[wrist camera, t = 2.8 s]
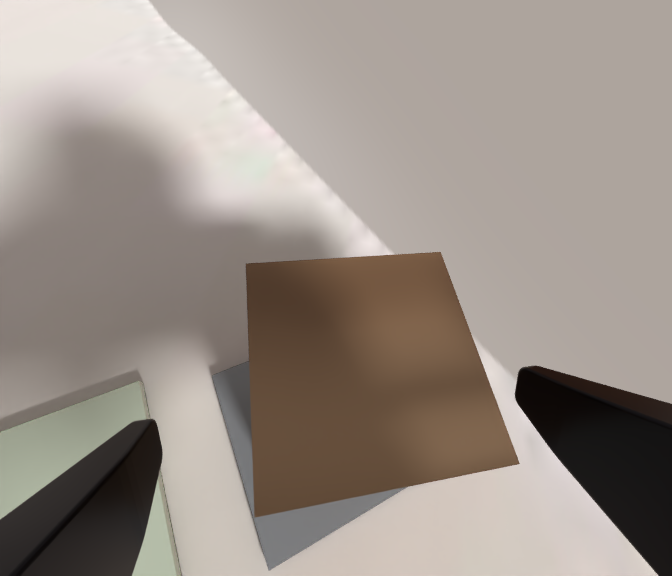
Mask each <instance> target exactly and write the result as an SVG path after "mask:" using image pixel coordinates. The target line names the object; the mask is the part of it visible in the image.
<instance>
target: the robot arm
mask: <svg viewBox="0 0 672 576" xmlns="http://www.w3.org/2000/svg"><path fill="white" fill-rule="evenodd" d="M515 398H516V401H517V403H518V405H519V406H520V408H521V409H522V410H523V412H524V413H525V415H526V416H527V417H528V419H529V420H530V421H531V423H532V424H533V426H534V427H535V428H536V430H537V431H538V432H539V434H540V435H541V437H542V438H543V439H544V441H545V442H546V443H547V445H548V446H549V447H550V449H551V450H552V451H553V453H554V454H555V455H556V457H557V458H558V459H559V460H560V461H561V463H562V464H563V465H564V466H565V467H566V468H567V470H568V471H569V472H570V473H571V474H572V475H573V477H574V478H575V479H576V480H577V481H578V482H579V484H580V485H581V486H582V487H583V488H584V489H585V491H586V492H587V493H588V494H589V495H590V496H591V498H592V499H593V500H594V501H595V502H596V503H597V505H598V506H599V507H600V508H601V509H602V510H603V512H604V513H605V514H606V515H607V516H608V517H609V519H610V520H611V521H612V522H613V523H614V524H615V526H616V527H617V528H618V529H619V530H620V531H621V532H622V534H623V535H624V536H625V537H626V538H627V539H628V541H629V542H630V543H631V544H632V545H633V546H634V548H635V549H636V550H637V551H638V552H639V553H640V555H641V556H642V557H643V558H644V559H645V560H646V562H647V563H648V564H649V565H650V566H651V567H652V569H653V570H654V571H655V572H656V573H657V574H658V576H672V404H670V403H667V402H663V401H659V400H656V399H652V398H649V397H645V396H642V395H638V394H635V393H631V392H627V391H624V390H621V389H617V388H614V387H610V386H607V385H603V384H600V383H596V382H593V381H589V380H585V379H582V378H578V377H575V376H571V375H568V374H565V373H561V372H557V371H554V370H550V369H547V368H543V367H540V366H528V367H523V368H521V369H520V370H519V372H518V377H517V384H516V390H515ZM161 463H162V446H161V441H160V437H159V432H158V427H157V423H156V421H155V420H154V419H145V420H137V421H133V422H131V423H130V424H128V425H127V426H126V427H124V428H123V429H122V430H120V431H119V432H118V433H116V434H115V435H114V436H112V437H111V438H109V439H108V440H107V441H105V442H104V443H103V444H101V445H100V446H99V447H97V448H96V449H95V450H93V451H92V452H91V453H89V454H88V455H86V456H85V457H84V458H82V459H81V460H80V461H78V462H77V463H76V464H74V465H73V466H72V467H70V468H69V469H68V470H66V471H65V472H64V473H62V474H61V475H59V476H58V477H57V478H55V479H54V480H53V481H51V482H50V483H49V484H47V485H46V486H45V487H43V488H42V489H41V490H39V491H38V492H36V493H35V494H34V495H32V496H31V497H30V498H28V499H27V500H26V501H24V502H23V503H22V504H20V505H19V506H18V507H16V508H15V509H13V510H12V511H11V512H9V513H8V514H7V515H5V516H4V517H3V518H1V519H0V576H132V574H133V571H134V568H135V565H136V562H137V559H138V556H139V553H140V550H141V547H142V543H143V540H144V537H145V533H146V529H147V525H148V520H149V516H150V511H151V507H152V503H153V498H154V494H155V489H156V485H157V480H158V476H159V471H160V467H161Z"/></svg>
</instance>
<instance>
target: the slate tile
mask: <svg viewBox="0 0 672 576" xmlns="http://www.w3.org/2000/svg"><path fill="white" fill-rule="evenodd" d="M212 378H213V382H214V385H215V388H216V392H217V395H218V399H219V402H220V405H221V409H222V412H223V416H224V419H225V423H226V426H227V429H228V433H229V436H230V440H231V443H232V447H233V450H234V453H235V457H236V460H237V464H238V467H239V471H240V474H241V477H242V481H243V484H244V488H245V491H246V495H247V498H248V501H249V505H250V508H251V512H252V515H253V518H254V490H253V460H252V430H251V400H250V370H249V361H248V362H245V363H243V364H240V365H238V366H235V367H232V368H230V369H227V370H225V371H222V372H220V373H217V374H214V375H212ZM405 488H406V487H403V488H398V489H393V490H388V491H384V492H379V493H374V494H369V495H364V496H359V497H354V498H349V499H344V500H339V501H334V502H329V503H324V504H320V505H315V506H310V507H305V508H300V509H295V510H290V511H285V512H280V513H275V514H270V515H265V516H260V517H256V518H254V522H255V525H256V529H257V532H258V536H259V539H260V542H261V546H262V549H263V553H264V556H265V560H266V563H267V566H268V570H271V569H272V568H274V567H276V566H277V565H279V564H281V563H282V562H284V561H286V560H287V559H289V558H291V557H292V556H294V555H296V554H297V553H299V552H301V551H302V550H304V549H306V548H307V547H309V546H311V545H312V544H314V543H315V542H317V541H319V540H320V539H322V538H324V537H325V536H327V535H329V534H330V533H332V532H334V531H335V530H337V529H339V528H340V527H342V526H344V525H345V524H347V523H349V522H350V521H352V520H354V519H355V518H357V517H359V516H360V515H362V514H363V513H365V512H367V511H368V510H370V509H372V508H373V507H375V506H377V505H378V504H380V503H382V502H383V501H385V500H387V499H388V498H390V497H392V496H393V495H395V494H397V493H398V492H400V491H402V490H403V489H405Z"/></svg>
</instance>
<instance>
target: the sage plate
mask: <svg viewBox="0 0 672 576" xmlns="http://www.w3.org/2000/svg"><path fill="white" fill-rule="evenodd" d="M145 419H150V417H149V412H148V407H147V402H146V397H145V392H144V387H143V383H141V382H140V381H137V382H134V383H131V384H129V385H126V386H123V387H121V388H118V389H115V390H112V391H110V392H107V393H104V394H102V395H99V396H96V397H93V398H91V399H88V400H85V401H83V402H80V403H77V404H75V405H72V406H69V407H66V408H64V409H61V410H58V411H56V412H53V413H50V414H47V415H45V416H42V417H39V418H37V419H34V420H31V421H29V422H26V423H23V424H20V425H18V426H15V427H12V428H10V429H7V430H4V431H1V432H0V519H1V518H3V517H4V516H5V515H7V514H8V513H9V512H11V511H12V510H13V509H15V508H16V507H18V506H19V505H20V504H22V503H23V502H24V501H26V500H27V499H28V498H30V497H31V496H32V495H34V494H35V493H36V492H38V491H39V490H41V489H42V488H43V487H45V486H46V485H47V484H49V483H50V482H51V481H53V480H54V479H55V478H57V477H58V476H59V475H61V474H62V473H64V472H65V471H66V470H68V469H69V468H70V467H72V466H73V465H74V464H76V463H77V462H78V461H80V460H81V459H82V458H84V457H85V456H86V455H88V454H89V453H91V452H92V451H93V450H95V449H96V448H97V447H99V446H100V445H101V444H103V443H104V442H105V441H107V440H108V439H109V438H111V437H112V436H114V435H115V434H116V433H118V432H119V431H120V430H122V429H123V428H124V427H126V426H127V425H128V424H130V423H131V422H133V421H137V420H145ZM132 576H181V572H180V567H179V562H178V557H177V552H176V547H175V542H174V537H173V532H172V527H171V522H170V517H169V512H168V507H167V502H166V497H165V492H164V487H163V482H162V477H161V472H160V471H159V476H158V480H157V485H156V489H155V494H154V498H153V503H152V507H151V511H150V516H149V520H148V525H147V529H146V533H145V537H144V540H143V543H142V547H141V550H140V553H139V556H138V559H137V562H136V565H135V568H134V571H133V574H132Z"/></svg>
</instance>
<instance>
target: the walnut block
mask: <svg viewBox="0 0 672 576" xmlns="http://www.w3.org/2000/svg"><path fill="white" fill-rule="evenodd" d="M246 280H247V310H248V340H249V370H250V400H251V430H252V460H253V490H254V518H256V517H260V516H265V515H270V514H275V513H280V512H285V511H290V510H295V509H300V508H305V507H310V506H315V505H320V504H324V503H329V502H334V501H339V500H344V499H349V498H354V497H359V496H364V495H369V494H374V493H379V492H384V491H388V490H393V489H398V488H403V487H408V486H413V485H418V484H423V483H428V482H433V481H438V480H443V479H448V478H452V477H457V476H462V475H467V474H472V473H477V472H482V471H487V470H492V469H497V468H502V467H507V466H512V465H517V464H519V461H518V458H517V455H516V453H515V450H514V447H513V445H512V442H511V439H510V437H509V434H508V431H507V429H506V426H505V423H504V421H503V418H502V415H501V413H500V410H499V407H498V405H497V402H496V399H495V397H494V394H493V391H492V389H491V386H490V383H489V381H488V378H487V375H486V372H485V370H484V367H483V364H482V362H481V359H480V356H479V354H478V351H477V348H476V346H475V343H474V340H473V338H472V335H471V332H470V330H469V327H468V324H467V322H466V319H465V316H464V314H463V311H462V308H461V306H460V303H459V300H458V298H457V295H456V292H455V290H454V287H453V284H452V281H451V279H450V276H449V274H448V271H447V268H446V266H445V263H444V260H443V257H442V255H441V252H433V253H416V254H402V255H401V254H400V255H383V256H366V257H350V258H333V259H316V260H300V261H283V262H266V263H249V264H246Z"/></svg>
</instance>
